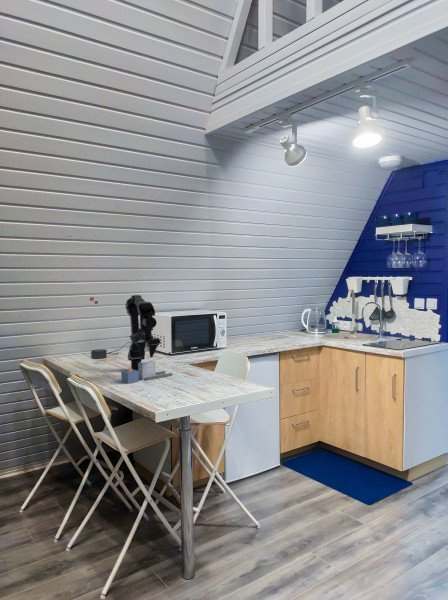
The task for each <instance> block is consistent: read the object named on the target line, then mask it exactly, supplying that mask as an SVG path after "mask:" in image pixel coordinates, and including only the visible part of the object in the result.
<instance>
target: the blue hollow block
mask: <svg viewBox="0 0 448 600" xmlns="http://www.w3.org/2000/svg"><path fill="white" fill-rule="evenodd" d="M120 372H121V373H120V375H121V376H120V377H121V382H122V383H125V384H129V385H130V384H134V383H138V382H140V379H139V371H137V370H134V369H132V371H130V372H128V369H125V370H124V369H123V370H121V371H120Z"/></svg>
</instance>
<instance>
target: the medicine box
mask: <svg viewBox="0 0 448 600" xmlns="http://www.w3.org/2000/svg"><path fill="white" fill-rule="evenodd" d="M138 371H139V380H141V381H146V380H145V378H147V377H152V376H157V375H156V372H157V371H156V362H155V361H153V360H146V361H141V362H140V363H138Z"/></svg>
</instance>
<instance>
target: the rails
mask: <svg viewBox="0 0 448 600" xmlns="http://www.w3.org/2000/svg"><path fill="white" fill-rule="evenodd" d="M172 375H173V372H172V373H171V372H169V373H166V371H165V370H163V371H161V370H160V371H156V376H152V377H147V378H145V380H144V381H151V380H156V379H162V378H167V377H172Z"/></svg>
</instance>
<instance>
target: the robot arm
mask: <svg viewBox="0 0 448 600" xmlns="http://www.w3.org/2000/svg"><path fill="white" fill-rule="evenodd" d="M125 310H126V313H127V315H128V316H129V318H130V320H129V321H130V332H131V335H129V338H130V340H131V343H130V345H129V349H128V353H127V361H129V362H130V366H131V367H130V369H134V370H137V371H138V363H140V362H142V361H143V360H145V357H146V346H147V347H148V351H149V357H150V358H153V357H154V354H155V352H156V350H157V348H158V346H159V345H160V344H161V339H160V338H159V337H154V336H153V334H152V332H153V331H154V328H155V327H156V326H157V320H156V318H155V317H153V316H156V310H155V308H154V305H153V303H152V302H150V301H146V300H145V299H144V298H142V295H139V294H135V295H134V294H132V295H131V297H130V298H128V299H127V300H126V302H125Z"/></svg>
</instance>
